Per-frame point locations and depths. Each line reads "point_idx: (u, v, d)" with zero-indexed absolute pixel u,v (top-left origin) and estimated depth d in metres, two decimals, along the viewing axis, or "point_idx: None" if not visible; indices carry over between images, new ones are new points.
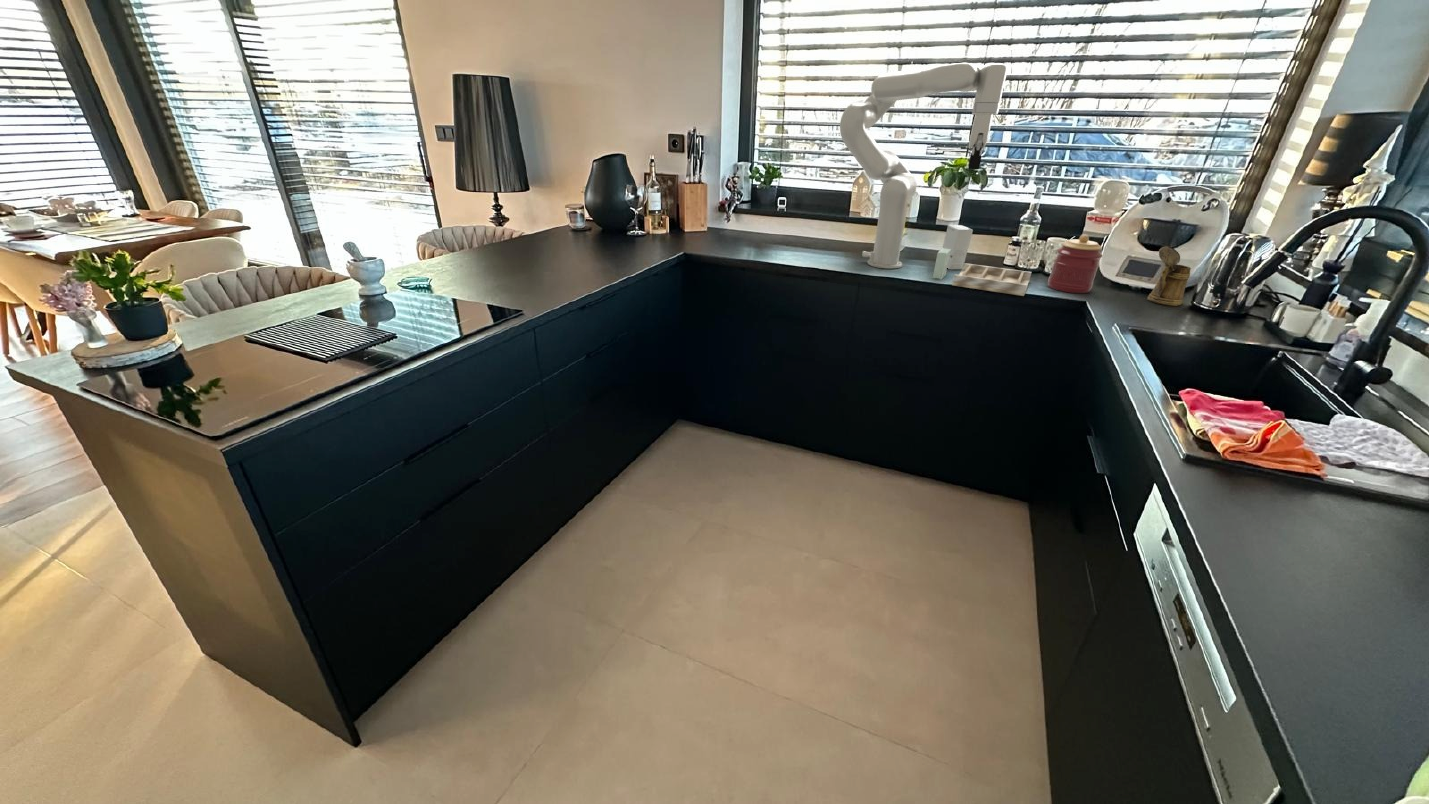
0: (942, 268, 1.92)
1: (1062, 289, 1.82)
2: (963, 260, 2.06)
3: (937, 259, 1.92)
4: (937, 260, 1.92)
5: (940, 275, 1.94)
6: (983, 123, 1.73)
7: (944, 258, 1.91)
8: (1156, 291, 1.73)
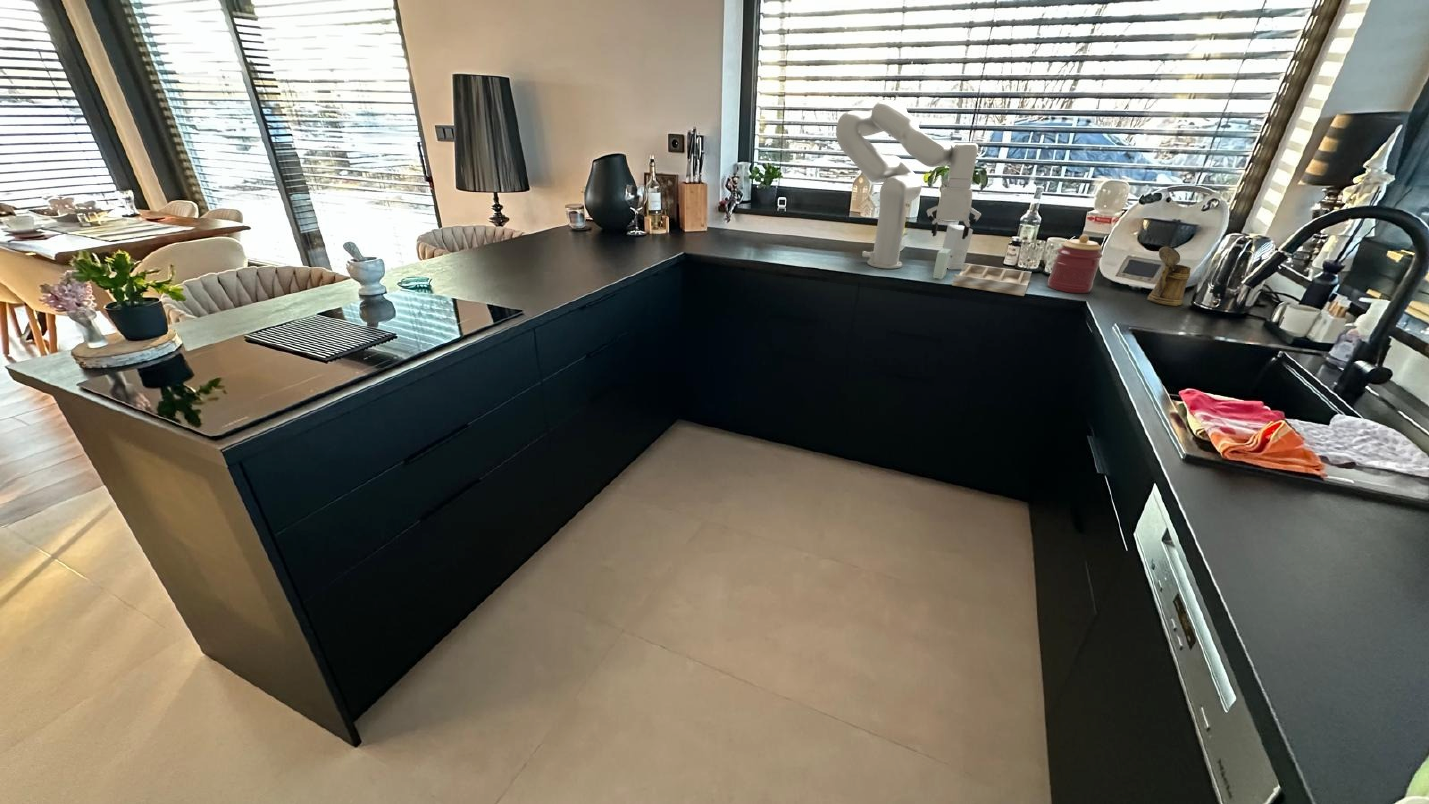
0: (942, 268, 1.92)
1: (1062, 289, 1.82)
2: (963, 260, 2.06)
3: (937, 259, 1.92)
4: (937, 260, 1.92)
5: (940, 275, 1.94)
6: None
7: (944, 258, 1.91)
8: (1156, 291, 1.73)
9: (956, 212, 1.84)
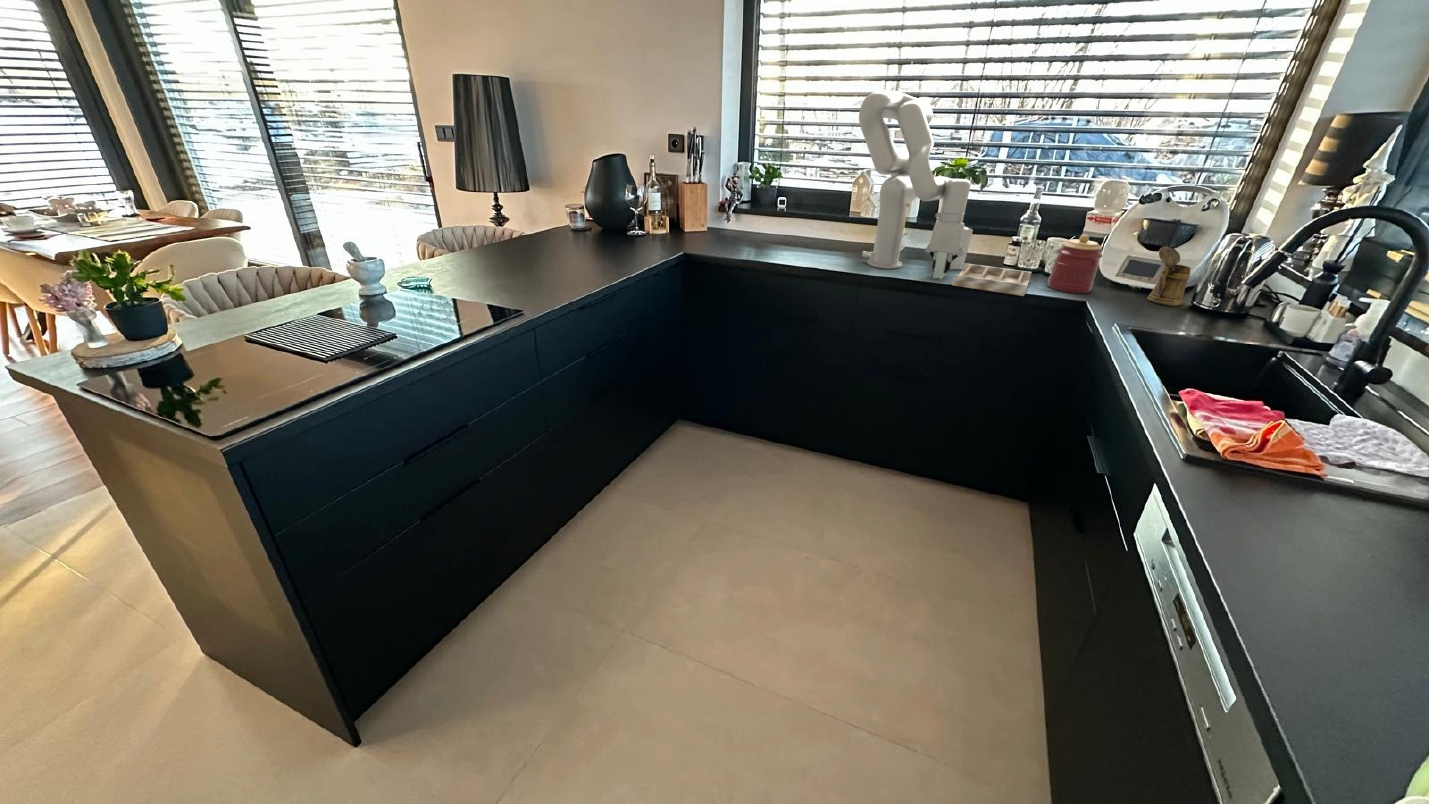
0: (942, 268, 1.92)
1: (1062, 289, 1.82)
2: (963, 260, 2.06)
3: (937, 259, 1.92)
4: (937, 260, 1.92)
5: (940, 275, 1.93)
6: None
7: (944, 258, 1.91)
8: (1156, 291, 1.73)
9: (948, 245, 1.90)
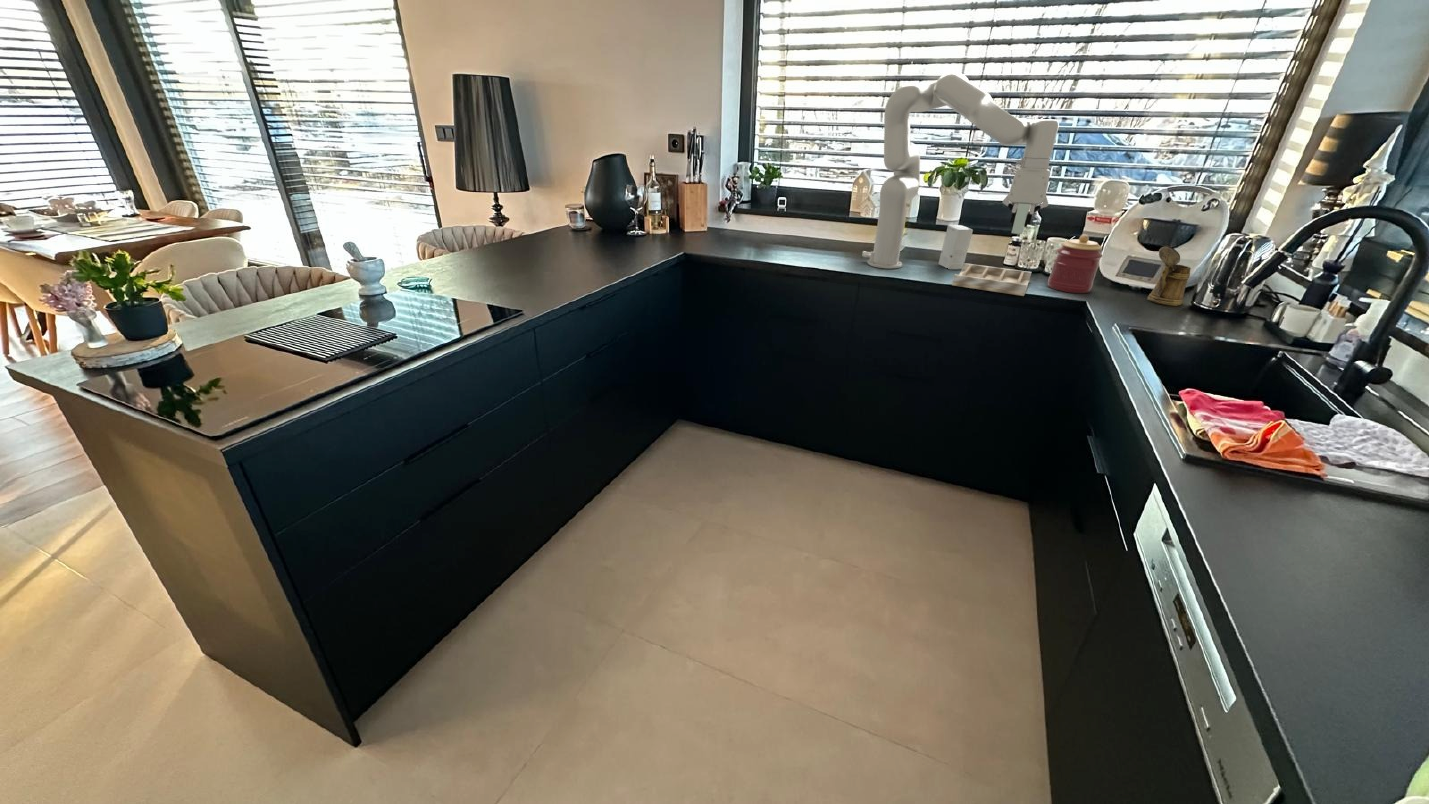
0: (1023, 221, 1.75)
1: (1062, 289, 1.82)
2: (963, 260, 2.06)
3: (1018, 211, 1.74)
4: (1018, 212, 1.74)
5: (1020, 229, 1.76)
6: None
7: (1026, 210, 1.73)
8: (1156, 291, 1.73)
9: (1031, 194, 1.72)
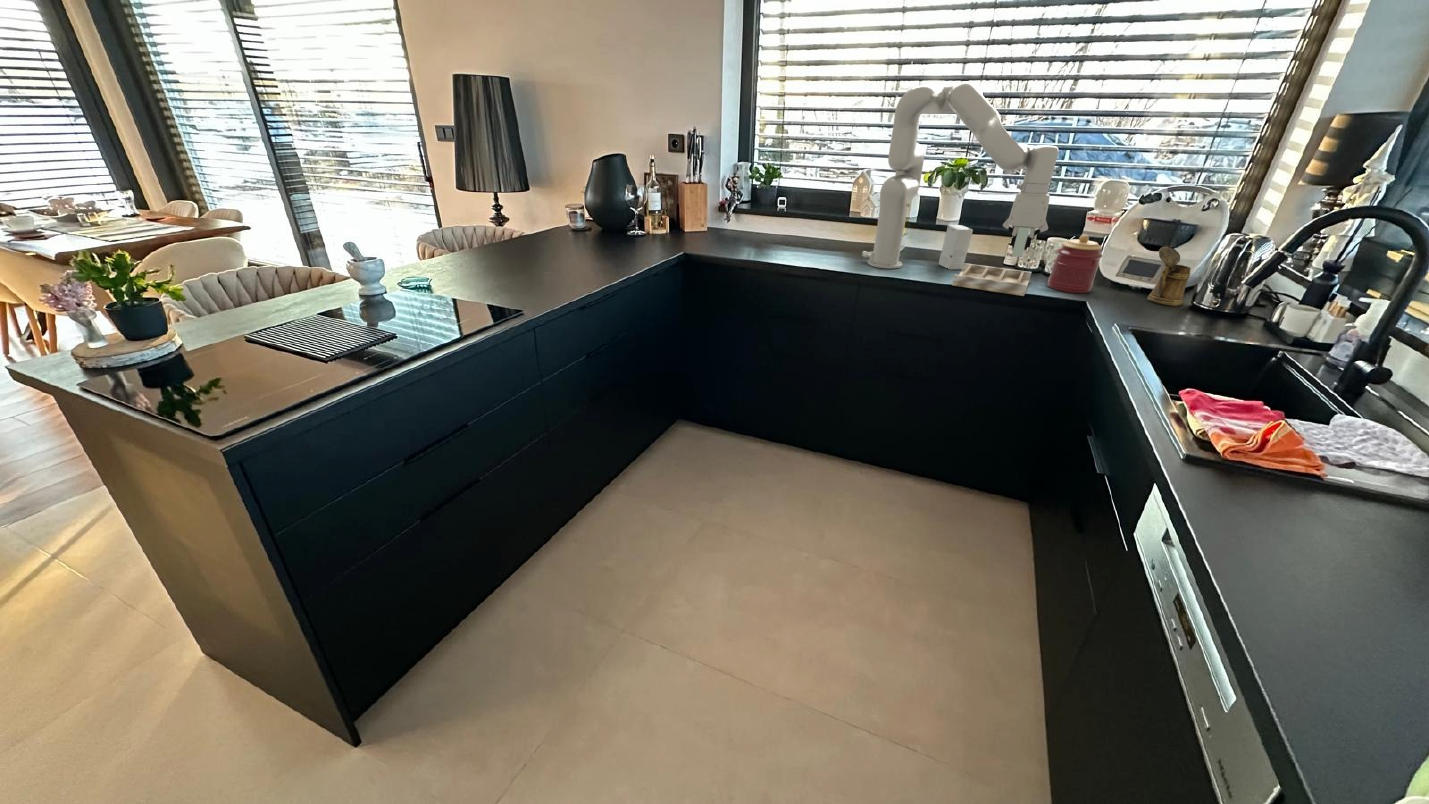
0: (1023, 245, 1.77)
1: (1062, 289, 1.82)
2: (963, 260, 2.06)
3: (1018, 235, 1.77)
4: (1018, 236, 1.77)
5: (1021, 252, 1.78)
6: None
7: (1026, 234, 1.75)
8: (1156, 291, 1.73)
9: (1031, 219, 1.74)
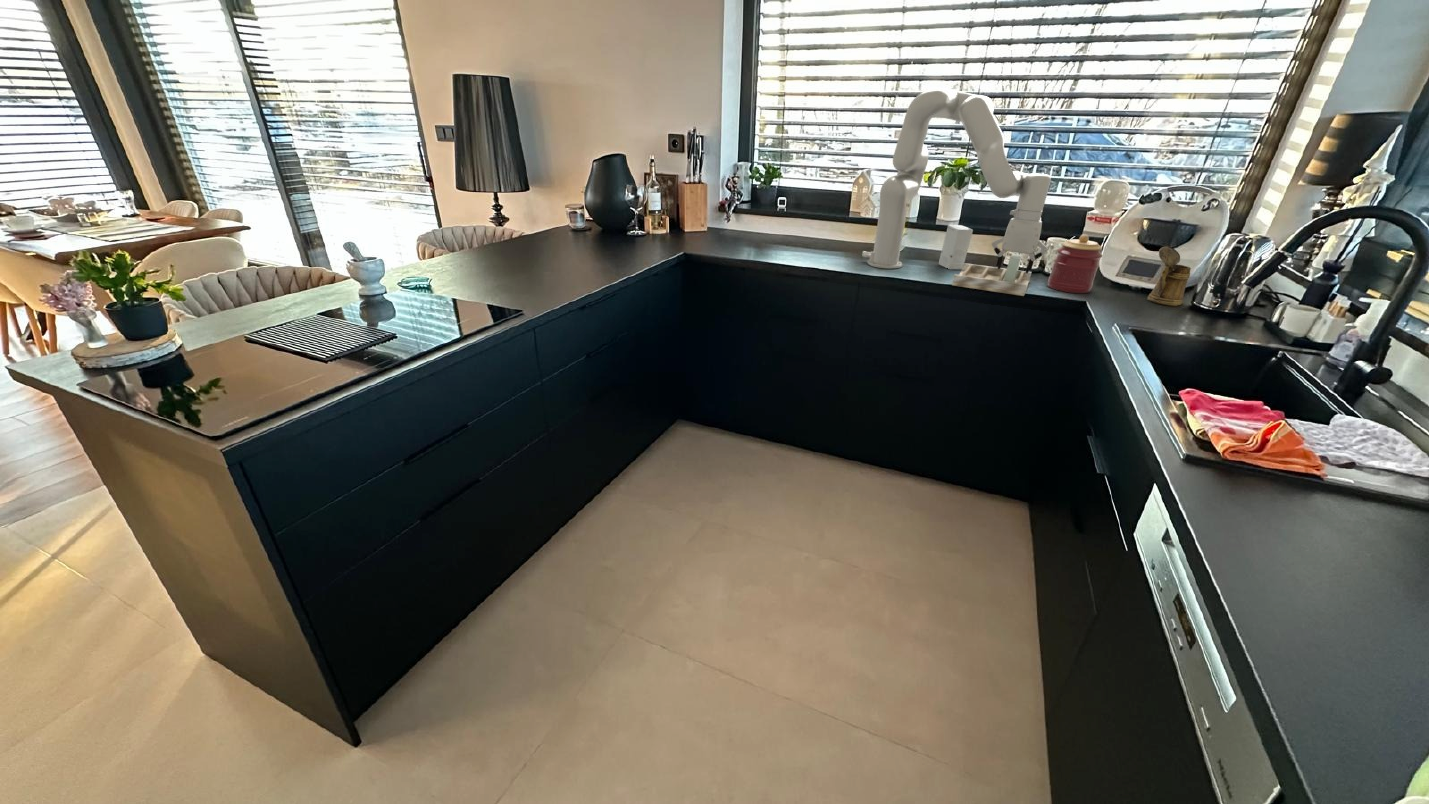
0: (1014, 275, 1.82)
1: (1062, 289, 1.82)
2: (963, 260, 2.06)
3: (1009, 265, 1.81)
4: (1009, 266, 1.81)
5: None
6: None
7: (1017, 264, 1.80)
8: (1156, 291, 1.73)
9: (1024, 244, 1.78)
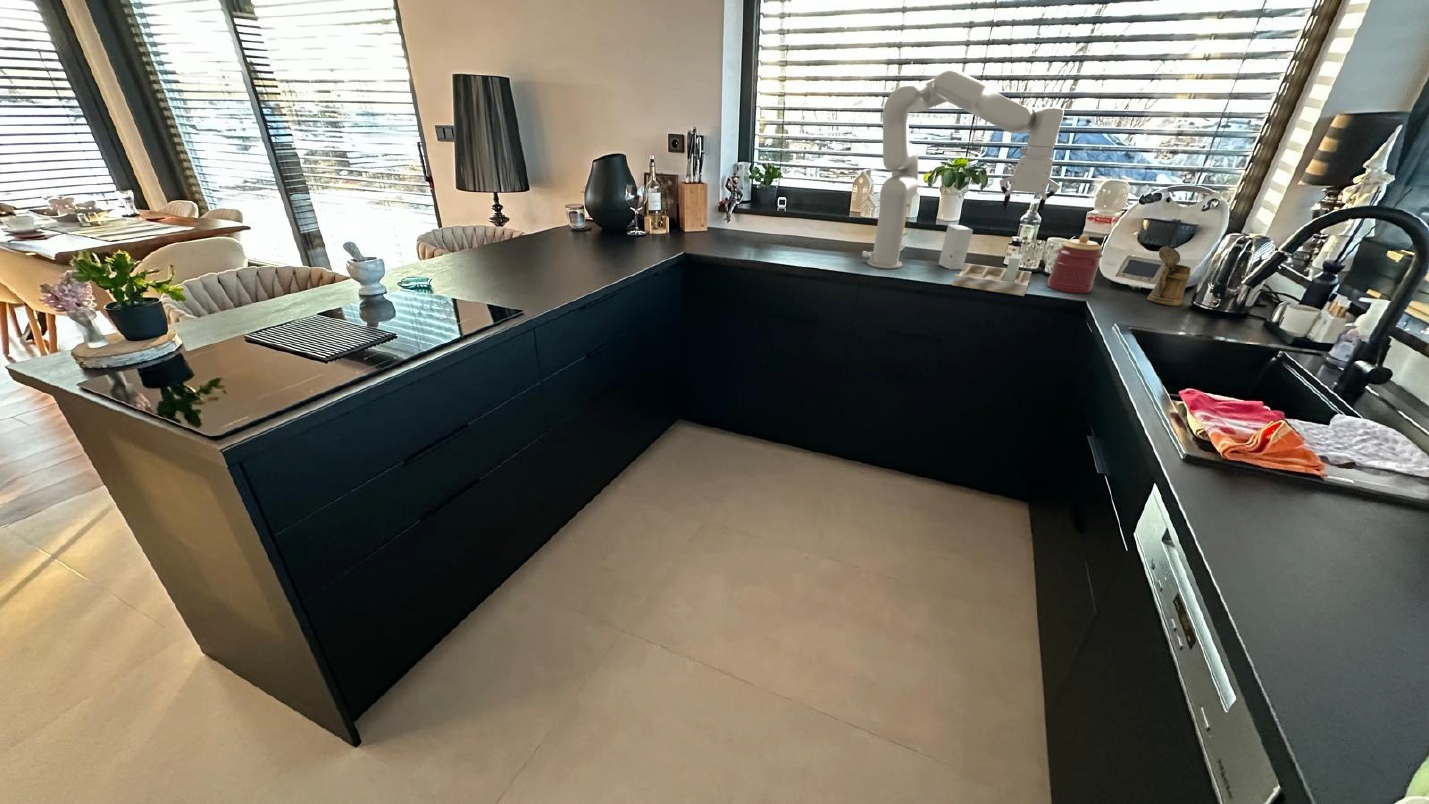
0: (1014, 275, 1.82)
1: (1062, 289, 1.82)
2: (963, 260, 2.06)
3: (1009, 265, 1.81)
4: (1009, 266, 1.81)
5: None
6: None
7: (1017, 264, 1.80)
8: (1156, 291, 1.73)
9: (1033, 183, 1.72)
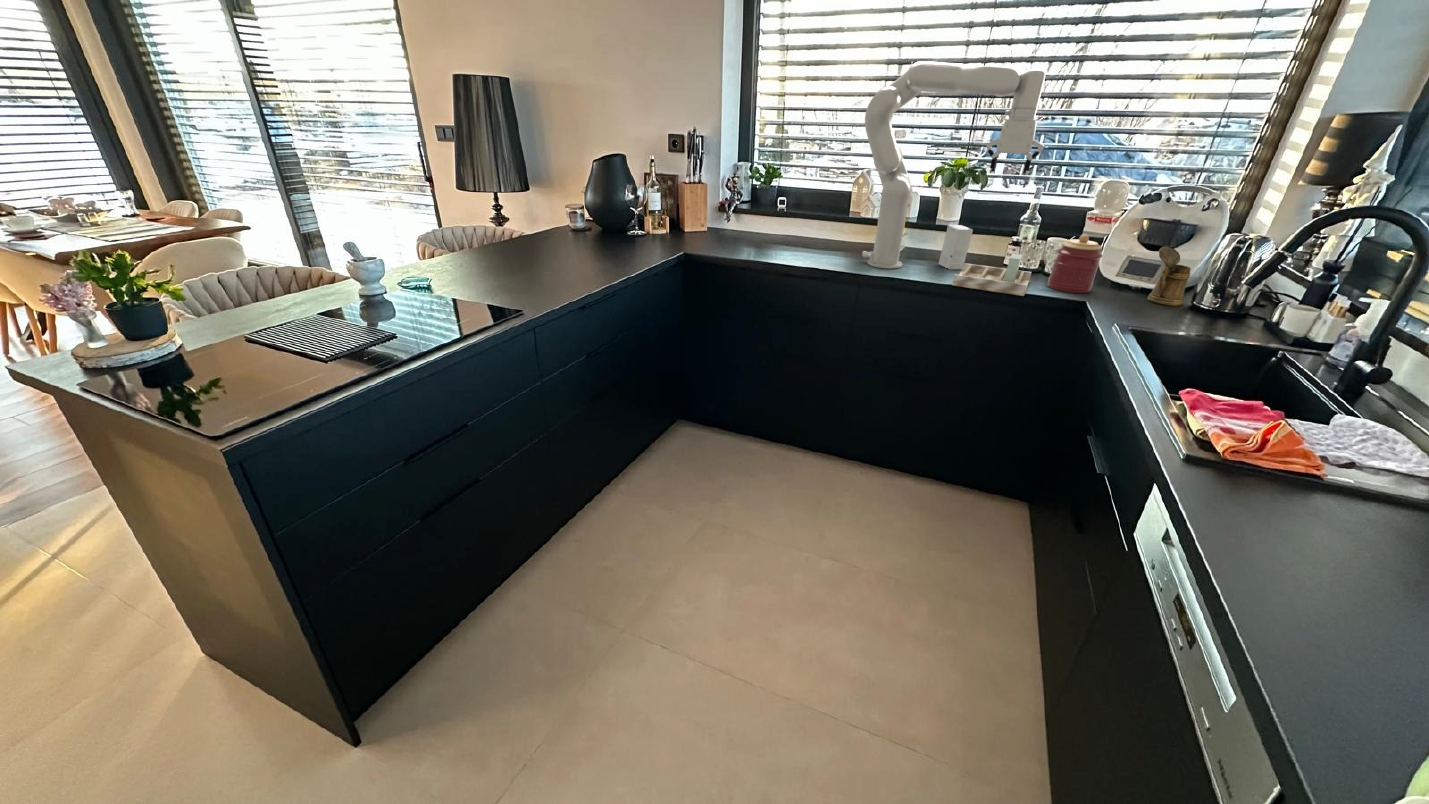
0: (1014, 275, 1.82)
1: (1062, 289, 1.82)
2: (963, 260, 2.06)
3: (1009, 265, 1.81)
4: (1009, 266, 1.81)
5: None
6: None
7: (1017, 264, 1.80)
8: (1156, 291, 1.73)
9: (1019, 144, 1.79)
